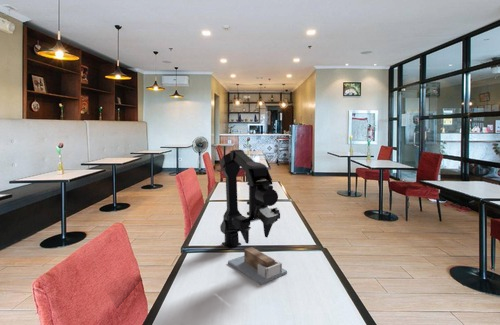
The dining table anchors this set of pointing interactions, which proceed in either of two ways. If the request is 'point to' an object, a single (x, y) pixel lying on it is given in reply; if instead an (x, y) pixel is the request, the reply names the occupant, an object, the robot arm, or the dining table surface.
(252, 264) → the brown wooden block
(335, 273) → the dining table surface
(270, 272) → the bracket
